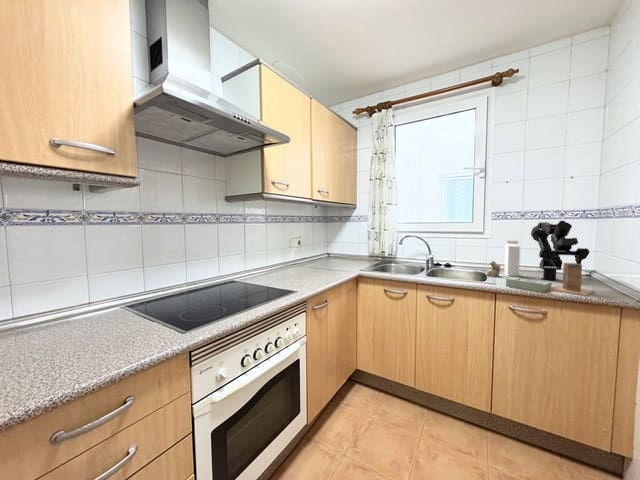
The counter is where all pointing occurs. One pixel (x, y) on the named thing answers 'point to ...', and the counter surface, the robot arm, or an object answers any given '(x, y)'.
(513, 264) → the milk
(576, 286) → the brown rectangular block
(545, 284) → the bay
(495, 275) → the chocolate bunny
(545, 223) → the robot arm
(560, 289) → the tile
